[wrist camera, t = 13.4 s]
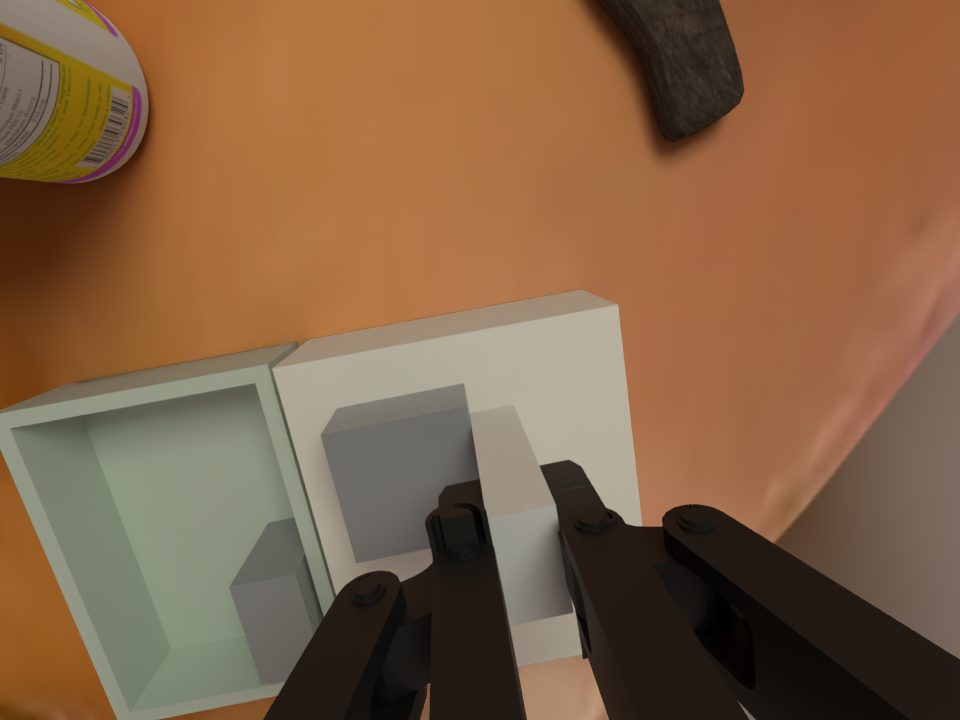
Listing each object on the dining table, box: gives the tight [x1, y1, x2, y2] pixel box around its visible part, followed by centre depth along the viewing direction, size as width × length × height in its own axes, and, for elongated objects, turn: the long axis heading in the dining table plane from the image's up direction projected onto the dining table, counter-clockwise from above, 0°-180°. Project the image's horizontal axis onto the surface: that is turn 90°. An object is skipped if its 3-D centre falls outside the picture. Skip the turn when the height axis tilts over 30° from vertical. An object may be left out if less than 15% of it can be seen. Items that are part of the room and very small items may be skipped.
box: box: [0, 342, 336, 720], centre depth 22 cm, size 10×14×4 cm
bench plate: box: [272, 290, 642, 686], centre depth 22 cm, size 12×14×5 cm
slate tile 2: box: [321, 383, 480, 563], centre depth 18 cm, size 4×4×2 cm
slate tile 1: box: [229, 518, 324, 685], centre depth 22 cm, size 4×4×2 cm
